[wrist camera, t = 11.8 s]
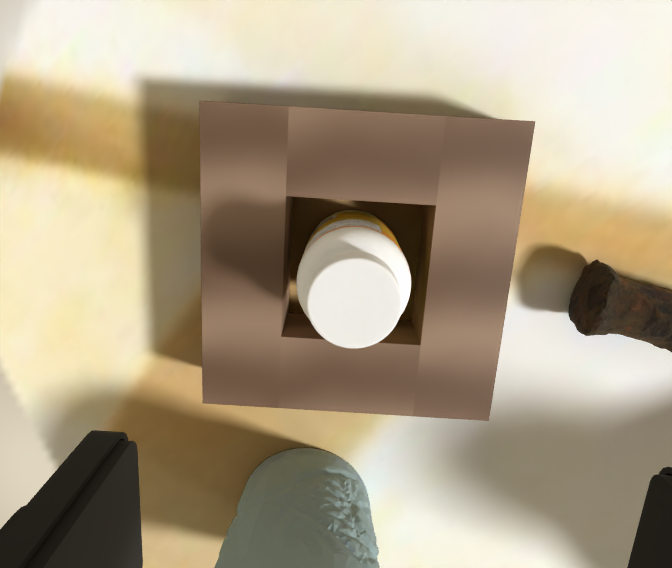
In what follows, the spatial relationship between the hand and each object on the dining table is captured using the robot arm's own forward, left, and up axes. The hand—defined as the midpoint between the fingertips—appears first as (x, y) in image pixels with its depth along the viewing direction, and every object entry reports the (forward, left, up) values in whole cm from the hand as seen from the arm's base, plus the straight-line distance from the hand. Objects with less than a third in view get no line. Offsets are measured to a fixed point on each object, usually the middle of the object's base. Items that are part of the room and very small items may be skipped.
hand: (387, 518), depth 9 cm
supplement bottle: (0, 0, -22) cm, 22 cm away
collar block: (0, 0, -22) cm, 22 cm away
